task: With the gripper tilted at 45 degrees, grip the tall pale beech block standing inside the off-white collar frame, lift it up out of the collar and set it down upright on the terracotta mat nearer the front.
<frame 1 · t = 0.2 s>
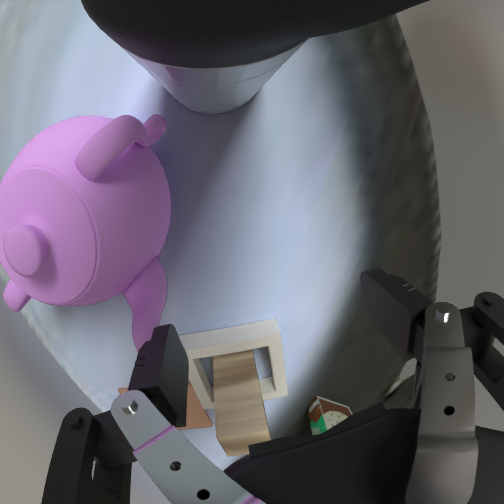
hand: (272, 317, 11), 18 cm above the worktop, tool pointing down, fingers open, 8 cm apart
cream brown half-disc piece: (320, 410, 43), on the worktop
collar frame: (235, 361, 35), on the worktop
beech block: (240, 398, 29), in the collar frame
teapot: (112, 215, 26), on the worktop
mat: (167, 409, 38), on the worktop
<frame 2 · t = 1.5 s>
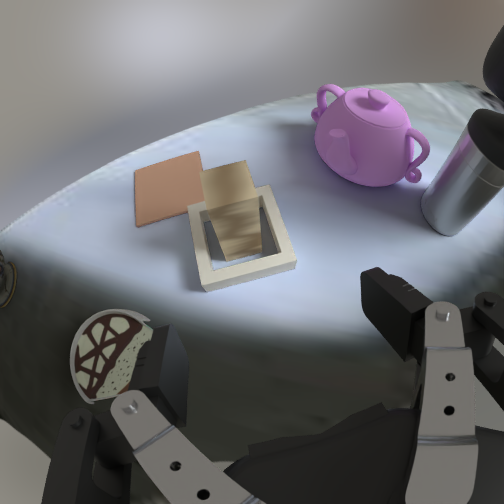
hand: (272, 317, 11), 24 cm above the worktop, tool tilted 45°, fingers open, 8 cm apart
cream brown half-disc piece: (133, 353, 34), on the worktop
collar frame: (240, 240, 39), on the worktop
beech block: (234, 216, 33), in the collar frame
teapot: (354, 164, 44), on the worktop
apothecary jar: (4, 285, 39), on the worktop
mat: (169, 187, 44), on the worktop
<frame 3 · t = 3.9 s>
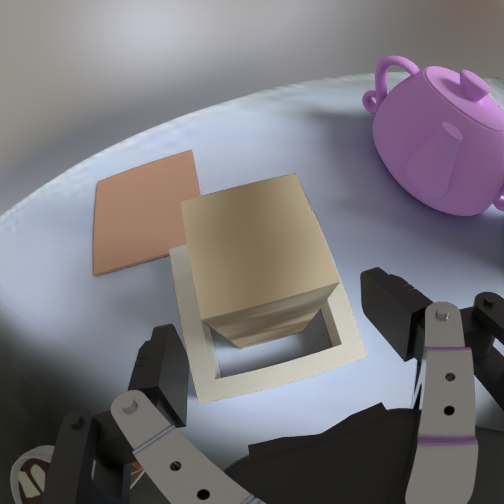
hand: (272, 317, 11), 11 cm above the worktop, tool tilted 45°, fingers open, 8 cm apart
cream brown half-disc piece: (105, 468, 17), on the worktop
collar frame: (263, 311, 22), on the worktop
beech block: (260, 288, 16), in the collar frame
teapot: (424, 177, 27), on the worktop
mat: (144, 209, 27), on the worktop
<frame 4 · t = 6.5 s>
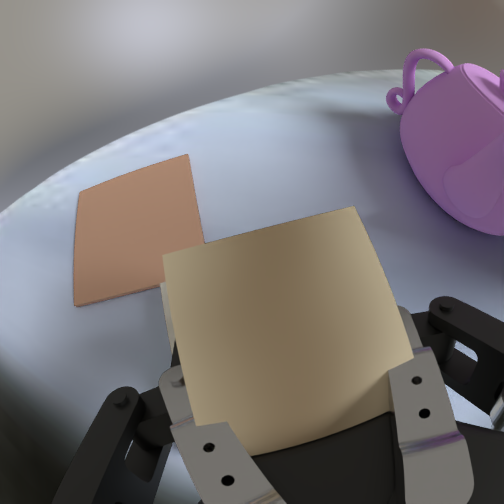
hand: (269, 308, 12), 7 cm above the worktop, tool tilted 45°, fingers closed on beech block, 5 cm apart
collar frame: (277, 357, 18), on the worktop
beech block: (281, 350, 12), in the collar frame, touching gripper
teapot: (454, 188, 23), on the worktop
mat: (131, 226, 22), on the worktop
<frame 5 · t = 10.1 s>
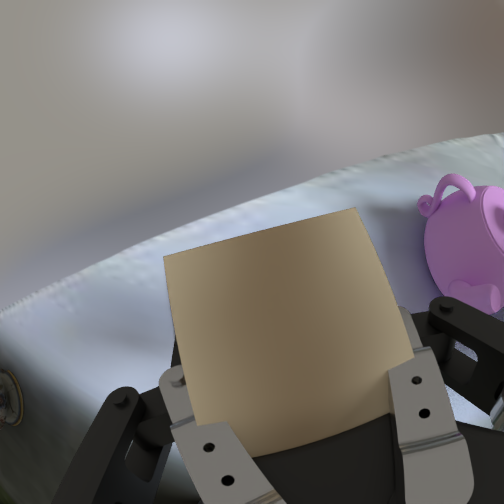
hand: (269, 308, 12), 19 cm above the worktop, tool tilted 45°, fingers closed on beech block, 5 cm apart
beech block: (281, 351, 12), point 18 cm above the worktop, touching gripper
teapot: (456, 274, 31), on the worktop
apothecary jar: (8, 397, 27), on the worktop
when the fingers open (9 cm above the worktop, at t = 13.7 s): beech block stays where it is, resting on mat.
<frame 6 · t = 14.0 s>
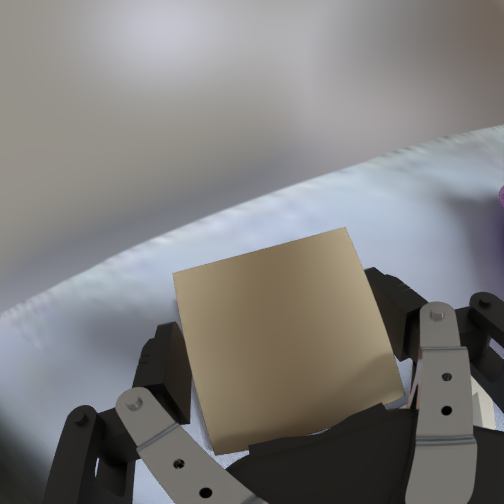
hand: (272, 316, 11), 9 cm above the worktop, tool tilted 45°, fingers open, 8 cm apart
collar frame: (423, 460, 14), on the worktop
beech block: (279, 354, 12), on the mat
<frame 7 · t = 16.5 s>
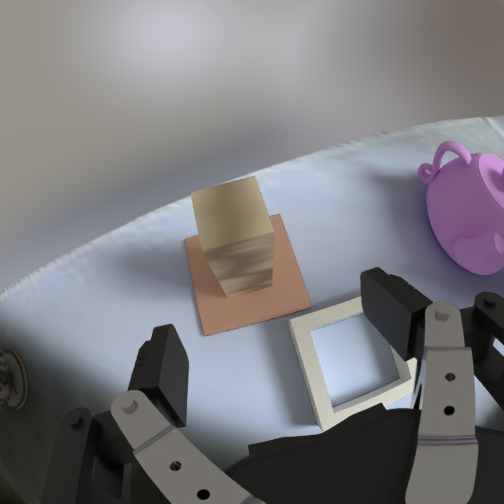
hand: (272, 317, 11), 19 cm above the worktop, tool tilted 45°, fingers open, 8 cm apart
collar frame: (355, 357, 28), on the worktop
beech block: (238, 248, 26), on the mat
teapot: (458, 238, 33), on the worktop
apothecary jar: (11, 379, 27), on the worktop
mat: (244, 272, 32), on the worktop
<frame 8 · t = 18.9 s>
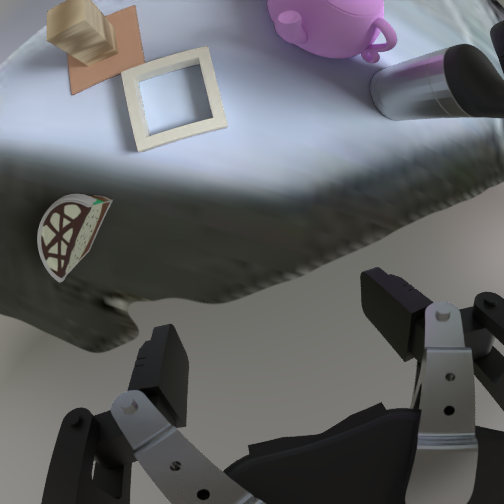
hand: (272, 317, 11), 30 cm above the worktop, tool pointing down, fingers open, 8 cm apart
cream brown half-disc piece: (85, 216, 37), on the worktop
collar frame: (174, 99, 33), on the worktop
beech block: (85, 32, 22), on the mat
teapot: (308, 25, 31), on the worktop
mat: (102, 47, 28), on the worktop
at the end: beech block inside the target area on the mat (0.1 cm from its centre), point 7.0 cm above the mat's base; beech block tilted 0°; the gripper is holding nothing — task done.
